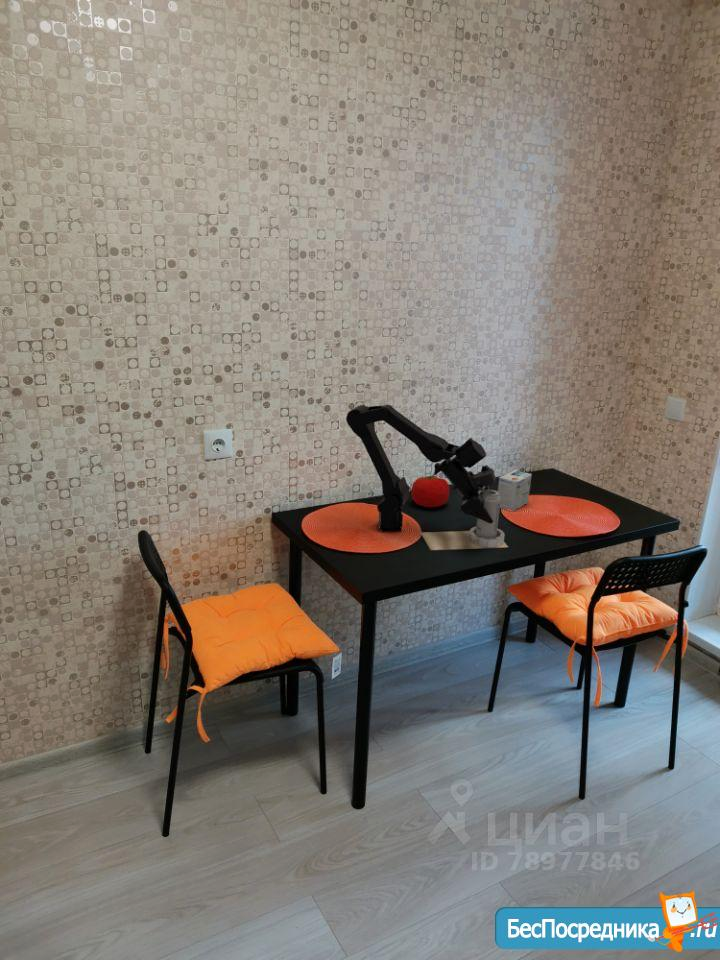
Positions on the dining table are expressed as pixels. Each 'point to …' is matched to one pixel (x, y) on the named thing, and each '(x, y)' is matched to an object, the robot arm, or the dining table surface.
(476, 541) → the ring clip
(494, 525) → the energy drink can
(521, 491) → the light bulb box
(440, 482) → the tomato
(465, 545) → the plate
